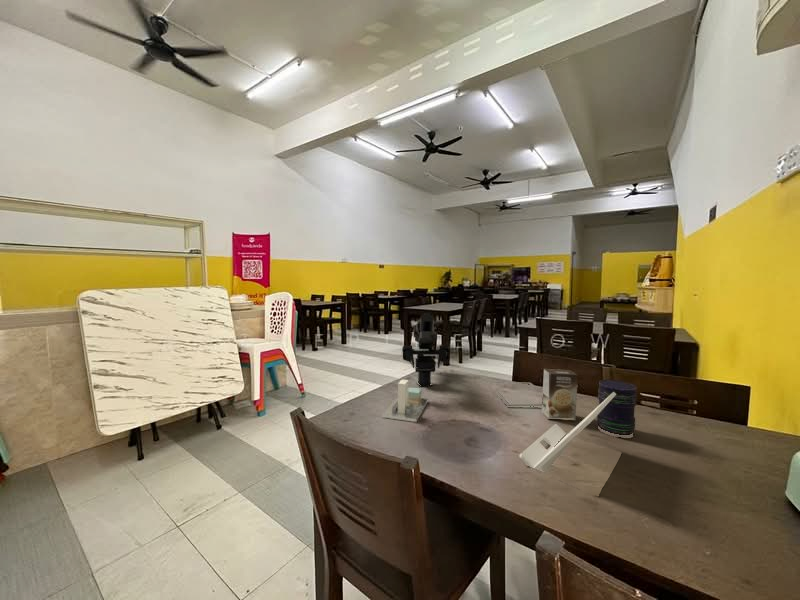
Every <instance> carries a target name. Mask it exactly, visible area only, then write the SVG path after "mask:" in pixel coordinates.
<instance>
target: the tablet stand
mask: <svg viewBox="0 0 800 600" xmlns="http://www.w3.org/2000/svg"><path fill="white" fill-rule="evenodd" d="M615 395H616V393H614V392H613V393H612V394H611V395H610V396H608V397H607V398H606V399H605V400H604V401H603V402H602V403H601V404H600V405H599V404H598V406H596V407H595V408H594V409H593V410H592V411H591V412H590V413H589V414H588V415H587V416H585V418H583V419H582V421H580V422H579V423H578V424H577V425H576V426H575V427H573V429H571V430H570V431H569V432H568V433H566V432H565V431H564V430H563V429H562V427H560V426H559V425H558V424H556V423H554V424H553V425H552V426H551V427H549V428H548V429H547V430H546V431H545V432H544V433H543V434H541V435H540V436H539V437H538V438H537V439H536V440H535V441H534V442H533V443H531V444H530V445H529V446H527V448H525V449H524V450H523V451H522V452H521V453H520V454H519V458H520V460H521V461H522V462H523V463H524V464H525V465H526V466H527V467H528V466H530V467H532V468H535V469H537V470H540V471H542V472H546V471H549V470H546V469H552V468H551V467H550V466H552V465H551V464H554V463H553V462H554V461H555V460H556V458H558V457H559V456H560V455H561V453H562V452H563V450H564V449H565V448H566V447H567V445H568V444H569V443H570V442H571V441H572V439H573V438H574V437H575V436H576V437H577V435H578V434H579V433H581V432H582V431H583V430H585V428H586V427H588V425H589V424H591V422H593V421H594V419H595V418H597V415H598V414H599V413H600V412H601V411H602V409H603V408H604V407H605V406H606V405H607V404H608V403H609V402H610V401H611V400H612V399H613V397H614V396H615ZM565 434H567V435H566V436H565V437H564V438H563V439H562V440H561V441H560V439H561V438H562V437H563V436H564V435H565ZM542 441H545V443H547V444H548V445H549V447H548V448H546V447H544V445H542V443H541V442H542ZM558 441H560V442H559V443H558ZM557 443H558V444H557ZM556 444H557V445H556ZM550 445H551V446H550ZM555 445H556V446H555ZM554 446H555V447H554ZM559 459H560V458H559ZM548 467H549V468H548ZM547 473H549V472H547Z"/></svg>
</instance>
